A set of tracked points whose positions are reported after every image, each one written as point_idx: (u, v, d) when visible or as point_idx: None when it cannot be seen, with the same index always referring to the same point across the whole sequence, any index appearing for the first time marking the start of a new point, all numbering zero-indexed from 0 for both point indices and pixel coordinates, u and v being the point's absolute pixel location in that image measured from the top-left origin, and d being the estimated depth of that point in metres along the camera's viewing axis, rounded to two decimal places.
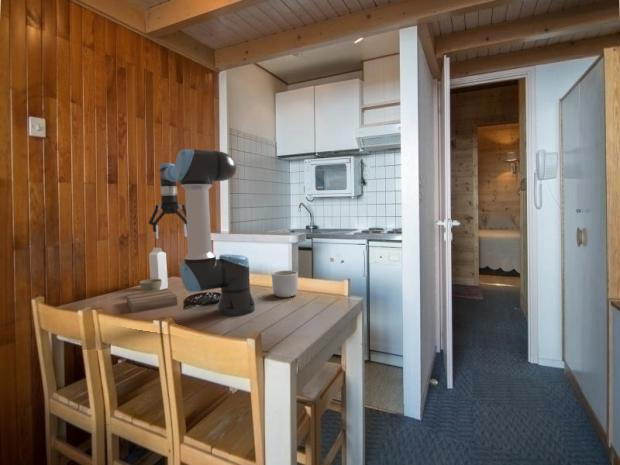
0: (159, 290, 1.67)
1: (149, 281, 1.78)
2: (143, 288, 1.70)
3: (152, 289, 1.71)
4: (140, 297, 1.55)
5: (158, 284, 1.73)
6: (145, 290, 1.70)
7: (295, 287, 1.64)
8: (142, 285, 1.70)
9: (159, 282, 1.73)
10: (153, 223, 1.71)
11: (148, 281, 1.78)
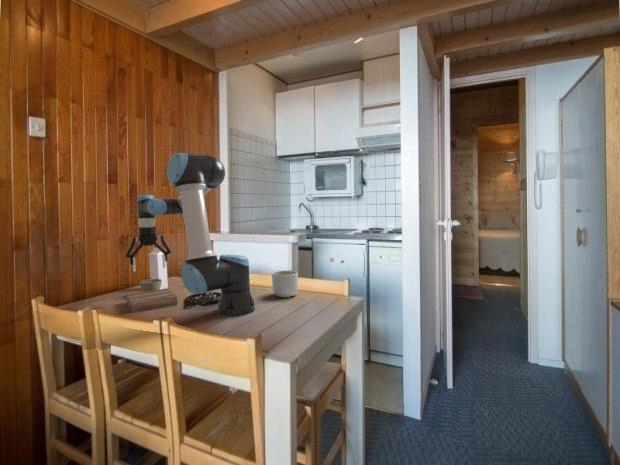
0: (159, 290, 1.67)
1: (149, 281, 1.78)
2: (143, 288, 1.70)
3: (152, 289, 1.71)
4: (140, 297, 1.55)
5: (158, 284, 1.73)
6: (145, 290, 1.70)
7: (295, 287, 1.64)
8: (142, 285, 1.70)
9: (159, 282, 1.73)
10: (130, 256, 1.68)
11: (148, 281, 1.78)
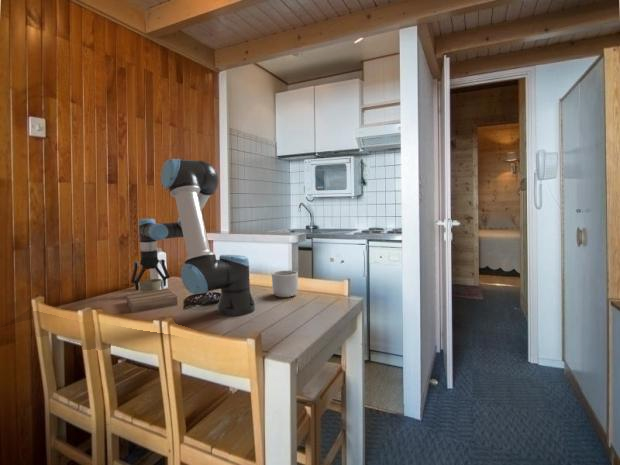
0: (159, 290, 1.67)
1: (149, 281, 1.78)
2: (143, 288, 1.70)
3: (152, 289, 1.71)
4: (140, 297, 1.55)
5: (158, 284, 1.73)
6: (145, 290, 1.70)
7: (295, 287, 1.64)
8: (142, 285, 1.70)
9: (159, 282, 1.73)
10: (135, 281, 1.70)
11: (148, 281, 1.78)
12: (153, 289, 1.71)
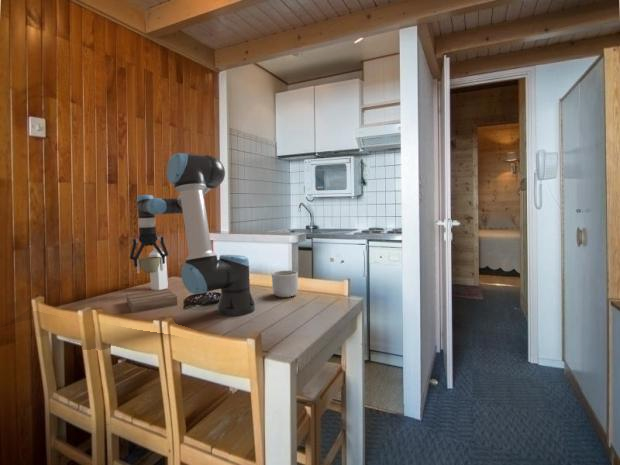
0: (159, 290, 1.67)
1: (148, 259, 1.77)
2: (142, 265, 1.69)
3: (151, 266, 1.70)
4: (140, 297, 1.55)
5: (157, 261, 1.71)
6: (144, 267, 1.69)
7: (295, 287, 1.64)
8: (141, 262, 1.69)
9: (158, 259, 1.72)
10: (134, 258, 1.69)
11: (147, 259, 1.77)
12: (152, 266, 1.70)
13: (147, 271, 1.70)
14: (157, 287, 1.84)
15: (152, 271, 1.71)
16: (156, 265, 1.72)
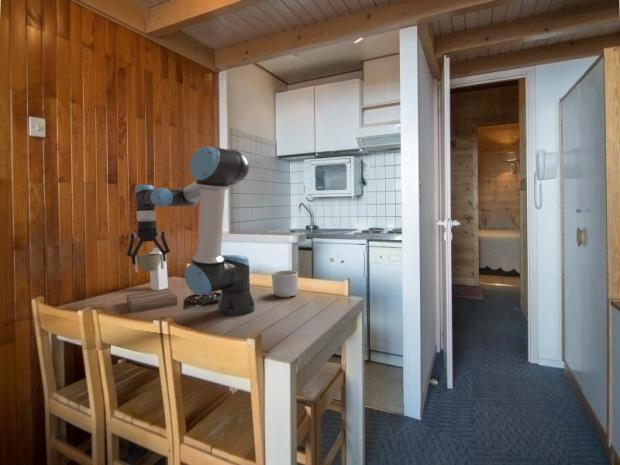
0: (159, 290, 1.67)
1: (147, 256, 1.60)
2: (140, 262, 1.53)
3: (150, 263, 1.53)
4: (140, 297, 1.55)
5: (157, 258, 1.55)
6: (143, 264, 1.53)
7: (295, 287, 1.64)
8: (139, 259, 1.52)
9: (158, 256, 1.55)
10: (132, 255, 1.52)
11: (146, 256, 1.60)
12: (151, 263, 1.53)
13: (146, 269, 1.54)
14: (157, 287, 1.84)
15: (152, 269, 1.55)
16: (156, 263, 1.55)
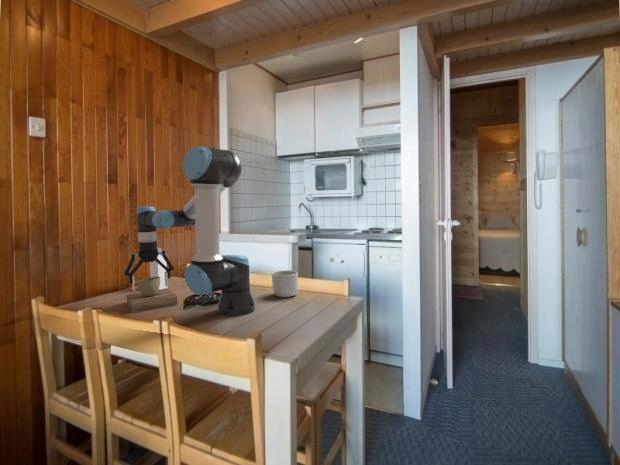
0: (159, 290, 1.67)
1: (146, 280, 1.61)
2: (141, 288, 1.53)
3: (151, 288, 1.54)
4: (140, 297, 1.55)
5: (157, 281, 1.55)
6: (143, 290, 1.53)
7: (295, 287, 1.64)
8: (139, 284, 1.53)
9: (157, 279, 1.56)
10: (129, 274, 1.52)
11: (145, 280, 1.61)
12: (152, 288, 1.54)
13: (147, 294, 1.54)
14: None
15: (153, 293, 1.55)
16: (156, 286, 1.56)
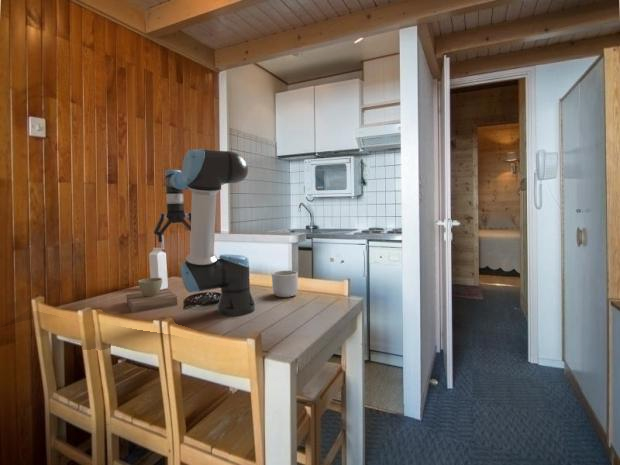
0: None
1: (148, 280, 1.61)
2: (142, 288, 1.53)
3: (152, 289, 1.54)
4: (140, 297, 1.55)
5: (159, 283, 1.56)
6: (144, 290, 1.53)
7: (295, 287, 1.64)
8: (141, 285, 1.53)
9: (160, 281, 1.56)
10: (159, 233, 1.61)
11: (147, 280, 1.60)
12: (153, 289, 1.54)
13: (148, 295, 1.54)
14: None
15: (153, 295, 1.55)
16: (158, 288, 1.56)
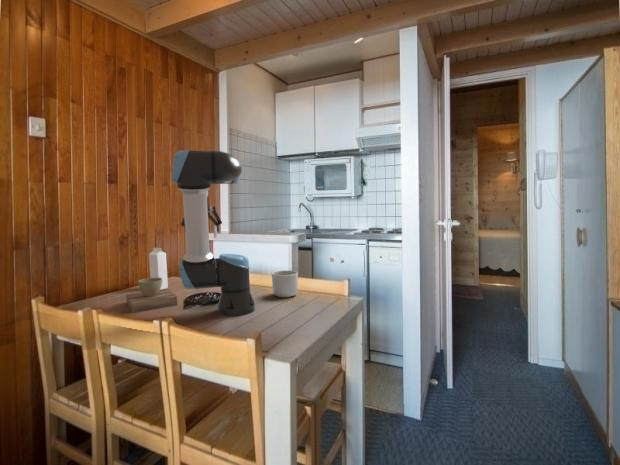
0: None
1: (148, 280, 1.61)
2: (142, 288, 1.53)
3: (152, 289, 1.54)
4: (140, 297, 1.55)
5: (159, 283, 1.56)
6: (144, 290, 1.53)
7: (295, 287, 1.64)
8: (141, 285, 1.53)
9: (160, 281, 1.56)
10: None
11: (147, 280, 1.60)
12: (153, 289, 1.54)
13: (148, 295, 1.54)
14: None
15: (153, 295, 1.55)
16: (158, 288, 1.56)
